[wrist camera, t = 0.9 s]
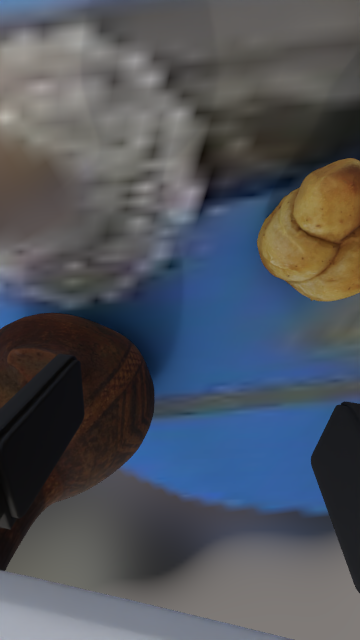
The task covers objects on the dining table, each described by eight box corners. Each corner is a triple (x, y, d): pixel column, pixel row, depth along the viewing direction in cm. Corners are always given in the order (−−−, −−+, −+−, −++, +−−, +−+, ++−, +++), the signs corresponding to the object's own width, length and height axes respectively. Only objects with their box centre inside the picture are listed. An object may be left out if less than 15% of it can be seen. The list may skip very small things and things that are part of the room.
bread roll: (394, 255, 26) (462, 275, 19) (310, 314, 30) (340, 351, 22) (316, 155, 23) (361, 134, 16) (236, 235, 27) (243, 246, 20)
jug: (191, 399, 37) (123, 908, 10) (79, 432, 44) (-141, 800, 17) (113, 267, 30) (-708, 772, 3) (-7, 329, 37) (-618, 675, 10)
